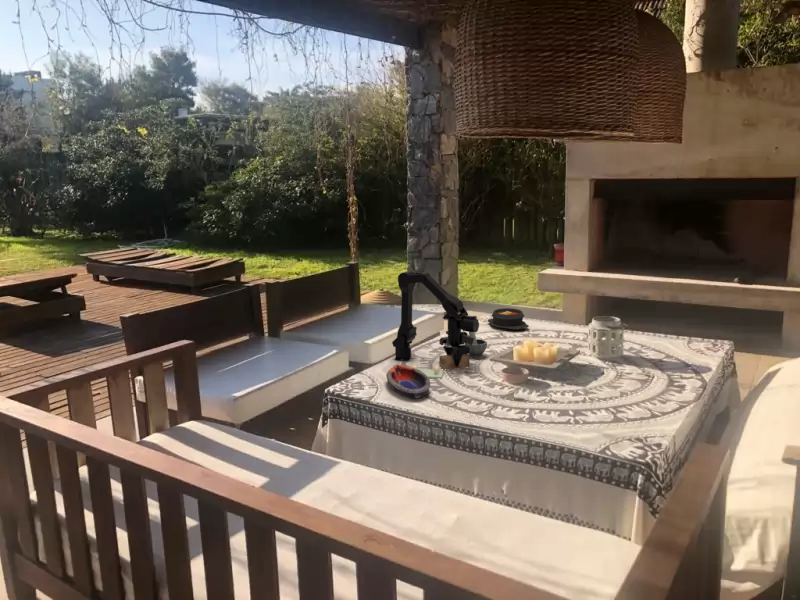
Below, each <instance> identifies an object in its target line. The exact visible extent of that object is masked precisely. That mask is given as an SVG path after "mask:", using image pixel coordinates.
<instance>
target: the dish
mask: <svg viewBox="0 0 800 600" xmlns="http://www.w3.org/2000/svg"><path fill="white" fill-rule="evenodd" d="M418 369H419V368H418ZM418 369H415V368H412V366H407V365H402V364H394V365H393V366H392V367H390V368H389V369H388V370H387V372H386V375H385V376H386V380H387V381H388V384H389V386H390V387H391V388H392V390H394V391H395V392H396V393H397V394H400V395H401V396H404V397H406V398H409V399H410V398H411V399H418V398H422V397H424V396H425V395H427V393H428V392H429V390H430V387H431V380H430V378H428V377H427V375H426V374H424V373H423V372H422V371H420V370H418Z"/></svg>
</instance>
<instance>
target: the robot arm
mask: <svg viewBox="0 0 800 600" xmlns="http://www.w3.org/2000/svg"><path fill="white" fill-rule="evenodd" d="M397 282H398V283H397V284H398V288H399V290H400V292H401V295H400V296H401V297H400V298H401V301H400V302H401V303H400V304H401V305H400V308H401V309H400V325H399V327H398V329H397V334H396V338H395V339H394V340H393V341H392V343H391V344H392V346H393V347H394V349H395V350H394V352H395V353H394V354H395V358H394V360H395V361H410V359H411V358H412V347H411V344H412V343H413V342H414V340H415V339H416V336H417V326H414V324H413V292H414V290H415V287H416V284H419V283H420V284H422V285H423V286H424V287H425V288H426V289H427V290H429V292H430V293H431V294H432V295H433V296H434V297H435V298H436V299H437V300H438V301H439V302H440V303H441V305H442V308H443V310H444V311H445V313H446V314H445V315H444V316H443V317H442V319H444V320H447V330H446V331H445V334H446V335H447V336H444V337H440V339H439V345H441V346H442V348H443V350H444V352H445V355H452V356H453V360H454V363H455V366H456V367H458V366H459V363H460V360H461V357H462V355H463V354H468V355H469V354H470V348H469V347H468V346H466V345H465V343H467V344H470V345H472V344H473V341H474V338H473V337H471V336H469V334H468V333H469V332H474V333H477V332H478V331H479V328H480V322H479V319H478V316H477V315H469V313H468V311H467V309H466V308H465V307H464V303H463V301H461V300H460V299H459V298H457V297H456V296H454V295H452V294H450V293H449V292H447V291H446V290H445V289H444V288H443V287H442V286H441V285H440V284H439V283H438V282H437V281H436V280H435V279H434V278H433V277H432V276H431V274H430V273H429V272H426V271H425V272H422V271H421V272H415V271H413V270H407V271H404V272H401V273H399V275H398V276H397Z"/></svg>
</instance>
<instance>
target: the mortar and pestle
mask: <svg viewBox="0 0 800 600" xmlns="http://www.w3.org/2000/svg"><path fill="white" fill-rule="evenodd" d="M468 335H469V336H471V337H473V338H474V341H473V344H472V345H470V344H467V343H464V345H466V346H468V347H469V348H470V354H468V355H469V356H470V359H472V358H474V360H479V359H483V358H484V355H483V354H484V353H485V351H486V350H487V347H488V341H486V340H484V339H480V338H476V334H475V333H474V332H468Z"/></svg>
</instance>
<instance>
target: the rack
mask: <svg viewBox="0 0 800 600" xmlns="http://www.w3.org/2000/svg"><path fill="white" fill-rule="evenodd" d="M418 366H419V365H418V363H413V365H412V366H411V367H412V368H415V369H418V370H420V371H422V372H423V373H424V374H426V375H427V377H428V378H429V379H431V378H440V379H439V380H442V379H441V378H443V376H444V373H443V372H445V370H442V369H440V364H434V367H433V369H430V368H429V369H428V368H426V369H425V368H419V367H418ZM442 375H443V376H442Z"/></svg>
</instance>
